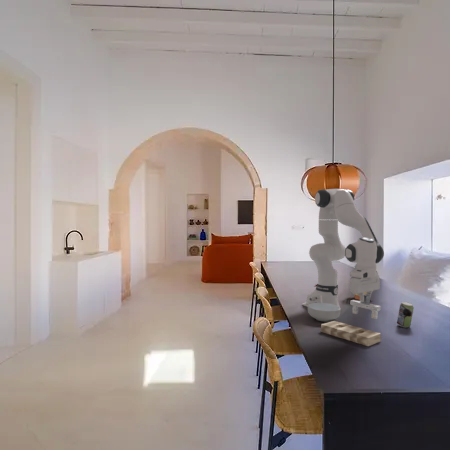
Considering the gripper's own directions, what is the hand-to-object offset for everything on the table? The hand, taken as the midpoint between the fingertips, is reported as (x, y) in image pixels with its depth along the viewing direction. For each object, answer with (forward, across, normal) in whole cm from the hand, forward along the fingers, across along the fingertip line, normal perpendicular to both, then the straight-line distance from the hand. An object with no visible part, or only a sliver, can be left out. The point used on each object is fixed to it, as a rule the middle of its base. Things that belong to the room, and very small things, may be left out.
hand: (365, 300), depth 168 cm
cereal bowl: (+15, 0, -23) cm, 28 cm away
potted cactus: (+16, -62, -39) cm, 75 cm away
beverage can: (+14, -22, +9) cm, 28 cm away
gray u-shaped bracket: (+7, 0, 0) cm, 7 cm away
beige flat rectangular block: (+14, +13, +1) cm, 19 cm away
